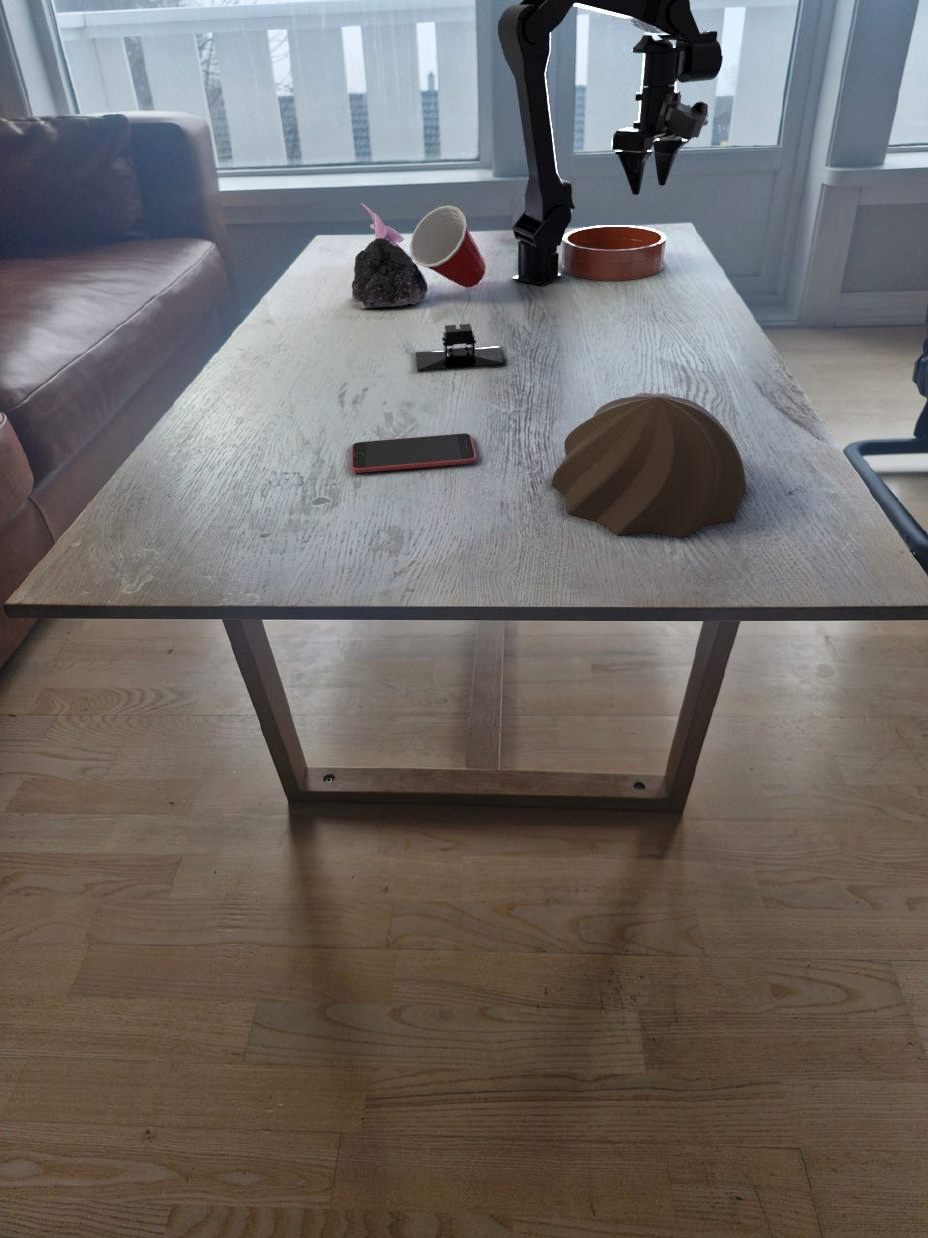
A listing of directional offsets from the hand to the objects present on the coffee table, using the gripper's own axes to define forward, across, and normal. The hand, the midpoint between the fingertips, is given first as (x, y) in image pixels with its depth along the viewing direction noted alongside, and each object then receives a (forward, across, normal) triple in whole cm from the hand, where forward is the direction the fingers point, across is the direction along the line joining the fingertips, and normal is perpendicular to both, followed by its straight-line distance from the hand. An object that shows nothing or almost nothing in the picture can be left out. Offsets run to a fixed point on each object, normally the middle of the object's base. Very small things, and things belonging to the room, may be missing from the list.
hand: (649, 189), depth 142 cm
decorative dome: (+12, -75, -44) cm, 88 cm away
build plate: (+12, -58, -4) cm, 60 cm away
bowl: (+12, -6, +3) cm, 14 cm away
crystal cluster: (+12, -43, +25) cm, 51 cm away
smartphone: (+12, -84, -19) cm, 87 cm away
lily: (+12, -24, +44) cm, 52 cm away
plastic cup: (+10, -29, +18) cm, 35 cm away
